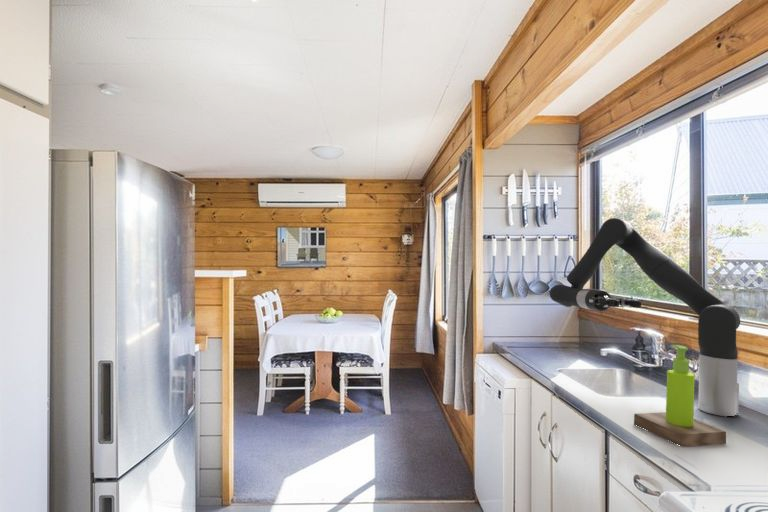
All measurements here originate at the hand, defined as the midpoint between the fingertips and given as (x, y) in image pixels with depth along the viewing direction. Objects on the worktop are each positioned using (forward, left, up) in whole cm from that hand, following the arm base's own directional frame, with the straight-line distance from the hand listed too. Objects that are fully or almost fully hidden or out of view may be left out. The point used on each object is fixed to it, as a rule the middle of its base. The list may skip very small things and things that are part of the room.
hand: (629, 304), depth 133 cm
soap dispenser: (+6, +23, -29) cm, 38 cm away
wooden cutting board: (+6, +23, -32) cm, 40 cm away
